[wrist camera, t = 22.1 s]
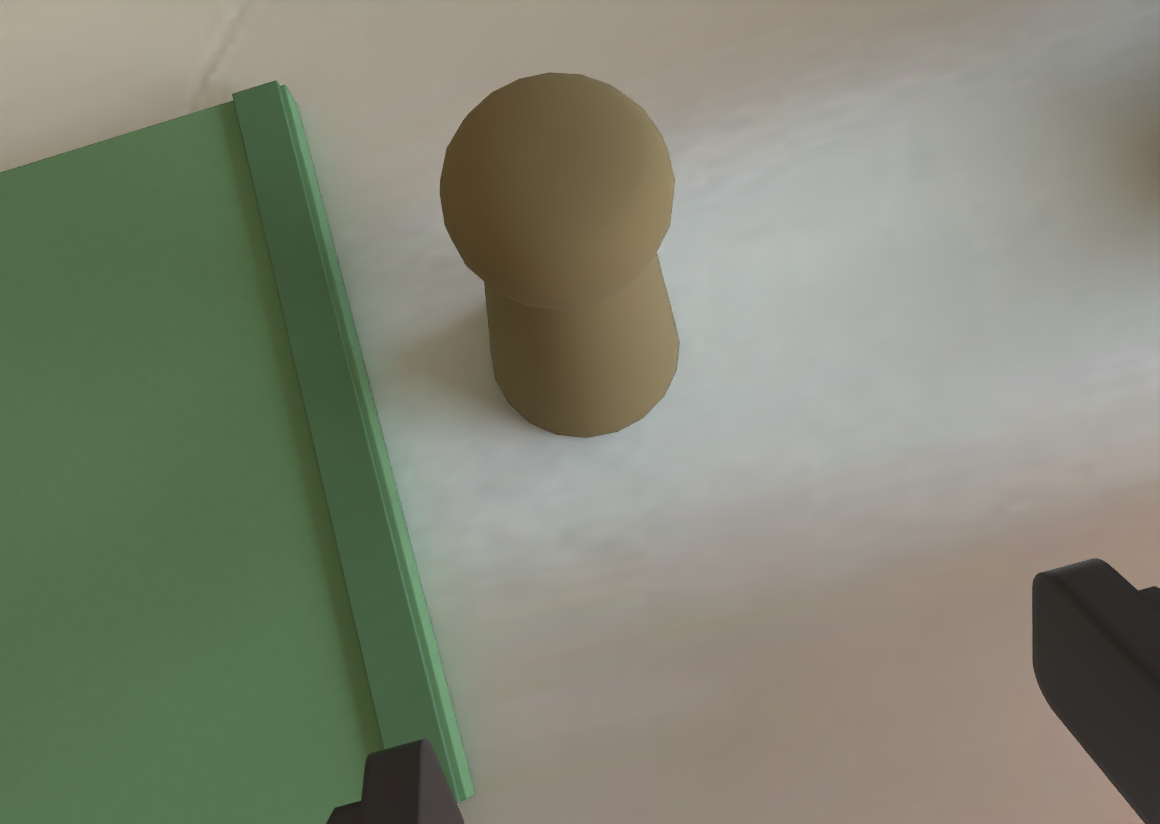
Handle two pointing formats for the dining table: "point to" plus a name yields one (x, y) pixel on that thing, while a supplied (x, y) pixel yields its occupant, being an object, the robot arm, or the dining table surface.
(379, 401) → the dining table surface
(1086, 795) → the dining table surface
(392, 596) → the green flat rectangular block
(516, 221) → the cork
